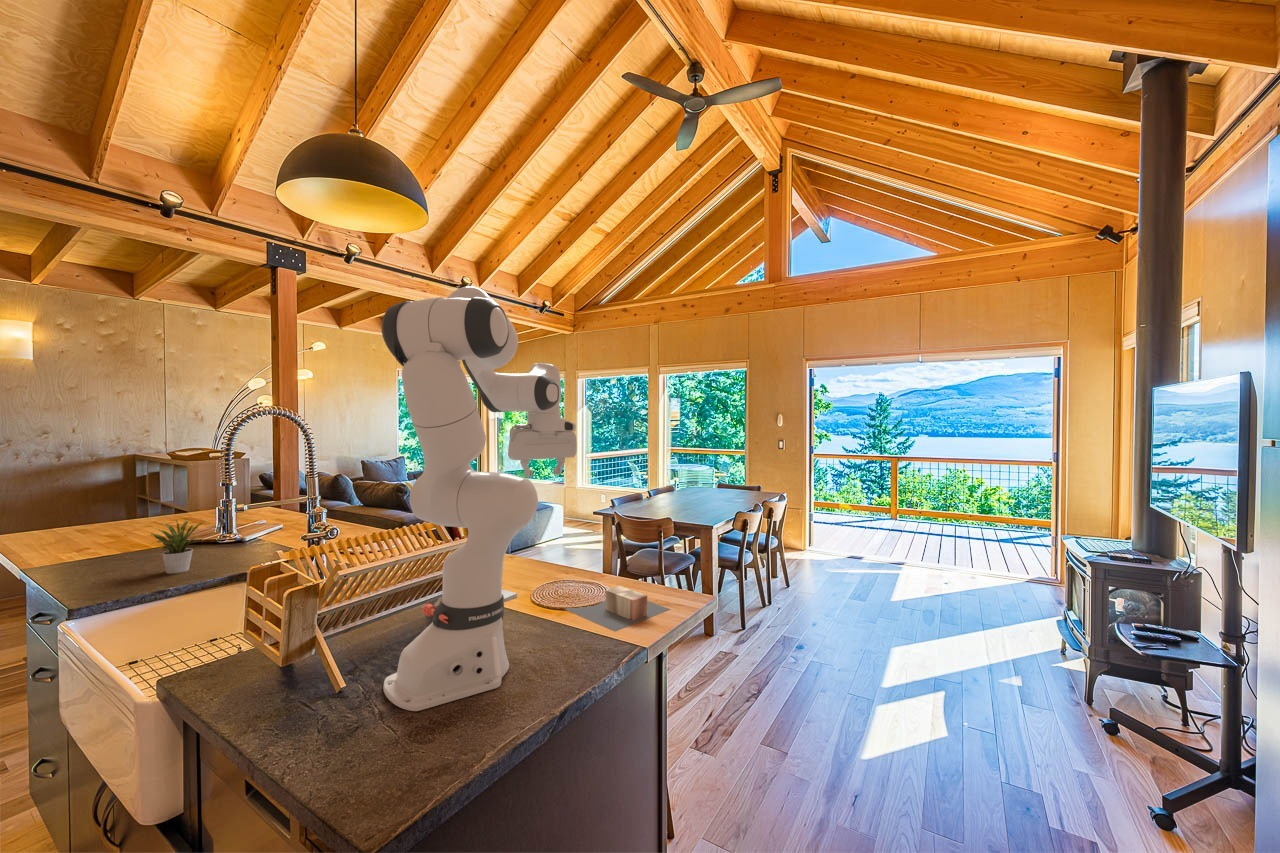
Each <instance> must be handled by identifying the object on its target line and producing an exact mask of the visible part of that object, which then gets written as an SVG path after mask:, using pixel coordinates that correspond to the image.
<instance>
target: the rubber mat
mask: <svg viewBox="0 0 1280 853" xmlns="http://www.w3.org/2000/svg"><path fill="white" fill-rule="evenodd" d="M570 607H571V606H570ZM570 607H567V608H566V607H565V608H564V610H565V611H567V612H569V613H571V614H574V615H577V616H578V617H581V618H583V619H585V620H587V621H590V622H592V623H594V624H597V625H599V626H601V627H604V628H606V629H609V630H610V631H613V632H617V631H619V630H622V629H624V628H627V627H630V626H633V625H635V624H637V623H640V622H643V621H645V620H648V619H650V618H653V617H655V616H658V615H661V614H662V613H666V612H668V611H670V610H671V608H668V607H667V606H666V607H665V606H663V605H660V604H657V603H654V602H651V601H649V600H647V615H646V616H644V617H641V618H638V619H636V620H630V619H628V618H625V617H623V616H620V615H618V614H615V613H613V612H610V611H608V610H605V602H602V603H600V604H597V605H594V606H587V607H579V608H570Z"/></svg>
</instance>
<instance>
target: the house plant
mask: <svg viewBox="0 0 1280 853" xmlns="http://www.w3.org/2000/svg"><path fill="white" fill-rule="evenodd" d="M175 521H176V529H175V528H174V527H173V526H172V524H169V523H168V522H166V523H161V524H162V525H163V526H165V527H166V528H168V530H169V531H170V532H168V531H166V530H162V529H159V528H157V527H152V526H151V528H154V529H156V530H158V531H159V532H161V533H162V534H163V535H164V536H165V537H164V536H163V535H160V534H157V533H152V532H151V533H149V534H150V535H151V536H153V537H154V538H155V539H157V540H155V541H153V542H152V544H154V543H162V544H164V545H162V546H161V547H160V549H162V548H165V547H166V548H167V549H168V550H166V551H163V552H162V553H161V554H162V559H163V563H164V569H165V572H166V574H170V575H173V574H180V573H181V574H182V573H184V572H188V571H189V570H190V565H191V560H192V556H193V555H192V554H193V551H194V549H193V548H190V547H189V548H188V545H190V544H192V543H197V542H199V538H201V539H202V537H201V536H195V537H193V538H190V539H189V540H188V538H189V537H190V535H192V534H193V533H194V532H195V531H196V530H197V529H198V528H199V527H200V526H201V525H202V524H204V523H207V522H208V520H205V521H202V522H200V523H196V524H195V523H194V521H192V522H190V519H187V520H185V521H184V522H183V523H182V525H181V527H180V523H179V522H178V520H177V519H175ZM210 521H212V520H210ZM189 522H190V523H189ZM188 523H189V524H188ZM187 527H188V529H186V528H187ZM176 530H177V531H176ZM185 532H186V533H185ZM166 537H167V538H166ZM195 539H198V540H195Z"/></svg>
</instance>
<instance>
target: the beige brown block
mask: <svg viewBox="0 0 1280 853" xmlns="http://www.w3.org/2000/svg"><path fill="white" fill-rule="evenodd" d="M605 596H606V599H605V610H608V611H610V612H613V613H615V614H618V615H620V616H623V617H625V618H628V619H630V620H636V619H638V618H641V617H644V616H646V615H647V601H648V595H647V594H644V593H641V592H638V591H636V590H633V589H630V588H627V587H624V586H622V585H618V586H615V587H611V588H609V589H606V590H605Z"/></svg>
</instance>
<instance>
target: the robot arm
mask: <svg viewBox="0 0 1280 853" xmlns="http://www.w3.org/2000/svg"><path fill="white" fill-rule="evenodd" d="M381 334H382V338H383V341H384V343H385V345H386V347H387V349H388V351H389V352H390V353H391V355H392V356H393V357H394V358H395V359H396V361H397V362H398V364H399V365H401V367H402V369H401V382H402V387H403V394H404V398H405V402H406V406H407V410H408V414H409V416H410V419H411V422H412V425H413V427H414V431H415V434H416V436H417V439H418V442H419V444H420V448H421V451H422V454H423V459H424V466H423V472H422V473H421V475H420V476H419V477H418V478H417V479H416V480H415V482H414V483H413V484H412V486H411V489H410V492H409V506H410V509H411V511H412V513H413V515H414V516H415V517H416V518H417V519H419V520H421V521H424V522H427V523H429V524H433V525H436V526H438V527H439V526H440V527H453V528H463V529H464V528H465V529H467V532H468V533H467V539H466V542H465V544H464V545H461V546H460V547H458V548H456V549H454V550H453V551H451V552H450V553H449V554H448V555H447V556H446V558H445V560H444V562H443V565H442V592H441V593H442V597H441V598H442V599H441V600H440V601H439V604H438V605H437V606H434V605H433V604H431V603H426V604H424V605H423V607H422V610H421V611H422V613H423V615H425V616H426V617H429V618H430V617H432V622H431V623H430V624H429V625H428V626H427V627H426V628H425V629H423V631H422V632H420V634H418V635H417V636H416V637H415V638H414V639H413V640H412V641H411V642H410V643H409V644H408V645H407V646H406V647H404V649H403V650H402V651H401V653H400V655H399V660H398V665H397V671H396V672H395V673H392V674H390V675H388V676H386V677H385V679H384V681H383V687H382V688H383V693H384V695H385V697H386V698H387V699H388V701H390V702H391V703H392V704H394V705H395V706H397V707H399V708H401V709H403V710H406V711H411V712H419V711H423V710H426V709H430V708H434V707H436V706H439V705H440V706H441V705H443V704H446V703H450V702H453V701H456V700H457V701H458V700H461V699H464V698H468V697H470V696H474V695H477V694H478V695H479V694H480V693H484V692H487V691H491V690H494V689H498V688H499V687H500V686H501V684H502V679H503V677H504V676H505V675H506V674H507V672H508V670H509V668H510V662H509V659H508V656H507V652H506V651H507V650H506V646H505V640H504V631H503V620H504V616H505V615H504V614H505V611H504V610H505V602H504V596H503V595H502V589H503V575H504V574H503V571H504V562H505V561H504V560H505V557H506V552H507V550H508V548H509V546H510V543H511V542H512V540H513V539H514V537H516V535H517V534H518V533H519V532H520V531H521V530H523V529H524V528H525V527H527V526H528V525H529V524H530V523H531V522H532V520H533V519H534V517H535V515H536V513H537V509H538V506H539V505H538V504H539V497H538V492H537V489H536V488H535V485H534V484H533V482H532V481H531V480H530V479H529V478H532V477H533V476H534V475H533V474H534V473H533V472H534V471H533V469H530V467H529V465H530V462H531V460H546V459H547V460H548V459H551V460H552V459H556V462H557V464H556V466H555V467H553V472H552V473H553V475H555V476H558V475H559V476H560V475H562V469H563V466H564V465H565V463H566V459H569V458H575V456H576V454H577V451H578V447H577V446H578V445H577V444H578V442H577V435H576V433H575V431H576V428H577V426H576V423H573V422H572V421H569V420H567V419H564V418H562V417H561V413H562V412H561V408H560V403H561V399H562V382H561V376H560V375H561V374H560V370H559V367H558V366H557V365H554V364H551V363H547V362H536V363H532V364H531V365H530V369H529V372H527V373H526V372H525V373H502V372H496V371H494V370H496V369H498V370H499V369H500V368H502V367H504V366H506V365H507V364H508V363H510V362H511V361H512V359H513V358H514V357H515V355H516V353H517V351H518V347H519V337H518V332H517V330H516V328H515V326H514V325H513V323H512V322H511V320H510V319H509V317H508V315H507V314H506V312H505V310H504V309H503V307H501V305H500V304H498V303H497V302H496V301H495V300H494V299H493V298H492V297H491V296H490V294H489V295H488V294H487V293H486V292H485V291H484V290H483V289H481V288H479V287H476V286H463V287H460V288H457V289H456V290H454V291H452V292H451V293H450V294H449V295H448V296H447V297H441V296H440V297H432V298H431V297H430V298H424V299H418V300H415V301H414V300H412V301H411V300H406V301H402V302H397V303H395V304H393V305H391V306H390V307H388V308H387V309H386V310H385V313H384V315H383V318H382V320H381ZM461 362H462V365H463V367H464V369H465V371H466V373H467V375H468V376H469V378H470V379H471V381H472V383H473V384H474V386H475V387H476V389H477V391H478V393H479V397H480V399H481V403H482V404H483V405H484V407H485V408H487V410H489V412H492V413H506V412H527V414H526V415H527V418H526V419H527V423H526V424H525V423H523V424H519V423H518V424H517V423H516V424H514V426H511V428H510V430H509V440H508V441H509V442H508V449H507V457H508V458H509V460H512V461H520V462H519V463H520V465H521V467H522V469H523V475H524V476H519V475H517V474H516V475H515V474H511V473H507V472H493V471H492V472H491V471H478V470H477V471H476V470H475V469H473V467H472V466H471V463H472V462H473V461H475V460H476V459H477V458H478V457H480V455H481V454H482V453H483V450H484V449H485V446H486V440H487V439H486V438H487V436H486V432H485V429H484V426H483V422H482V420H481V416H480V413H479V409H478V405H477V402H476V399H475V396H474V393H473V391H472V387H471V385H470V383H469V381H468V379H467V377H466V374H465V372H464V371H463V369H462V366H461Z"/></svg>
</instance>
